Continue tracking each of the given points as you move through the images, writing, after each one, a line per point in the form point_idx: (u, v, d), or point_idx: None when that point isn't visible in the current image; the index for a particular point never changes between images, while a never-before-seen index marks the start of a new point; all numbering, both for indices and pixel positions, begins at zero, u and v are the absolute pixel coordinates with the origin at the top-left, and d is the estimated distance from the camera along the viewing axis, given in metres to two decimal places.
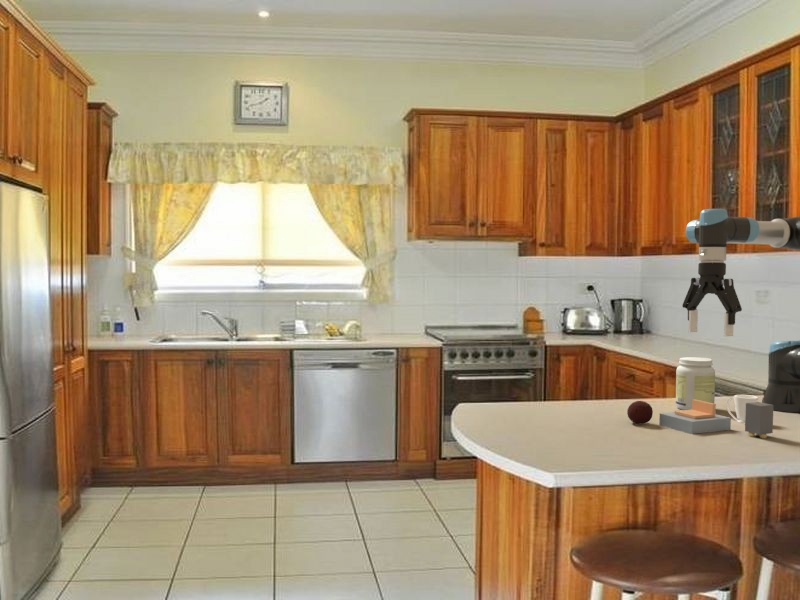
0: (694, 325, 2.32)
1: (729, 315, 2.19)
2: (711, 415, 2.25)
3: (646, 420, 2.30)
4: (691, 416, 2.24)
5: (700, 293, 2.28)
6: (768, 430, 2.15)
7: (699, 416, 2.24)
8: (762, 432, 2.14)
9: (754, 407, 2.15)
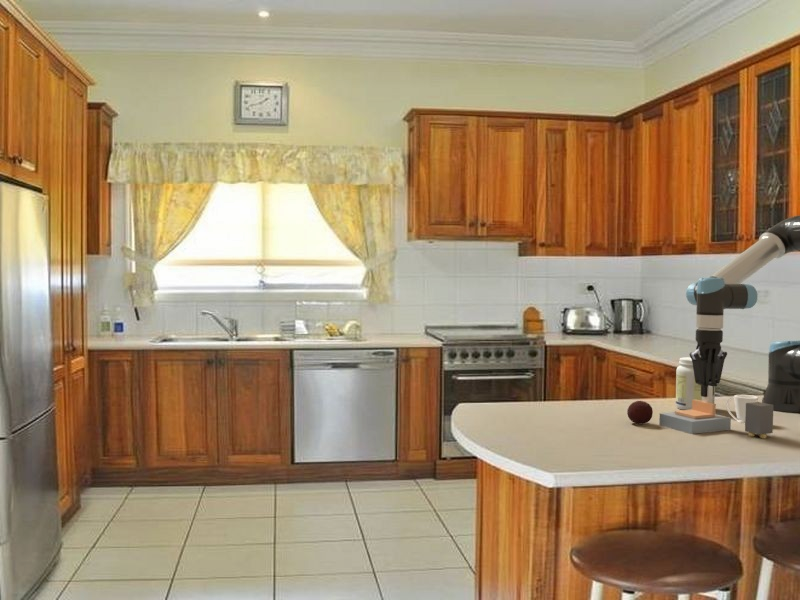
0: None
1: None
2: (711, 415, 2.25)
3: (646, 420, 2.30)
4: (691, 416, 2.24)
5: None
6: (768, 430, 2.15)
7: (699, 416, 2.24)
8: (762, 432, 2.14)
9: (754, 407, 2.15)
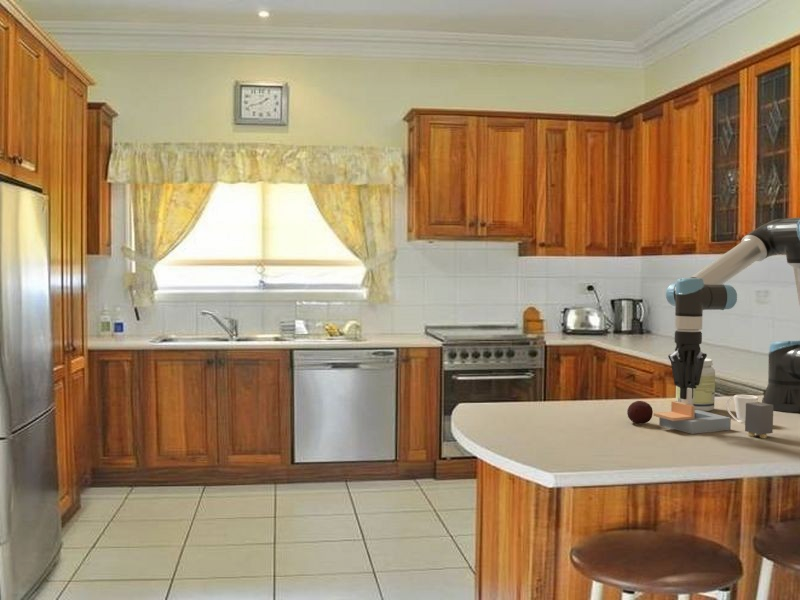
0: None
1: None
2: (690, 417, 2.22)
3: (646, 420, 2.30)
4: (670, 418, 2.21)
5: None
6: (768, 430, 2.15)
7: (678, 418, 2.20)
8: (762, 432, 2.14)
9: (754, 407, 2.15)
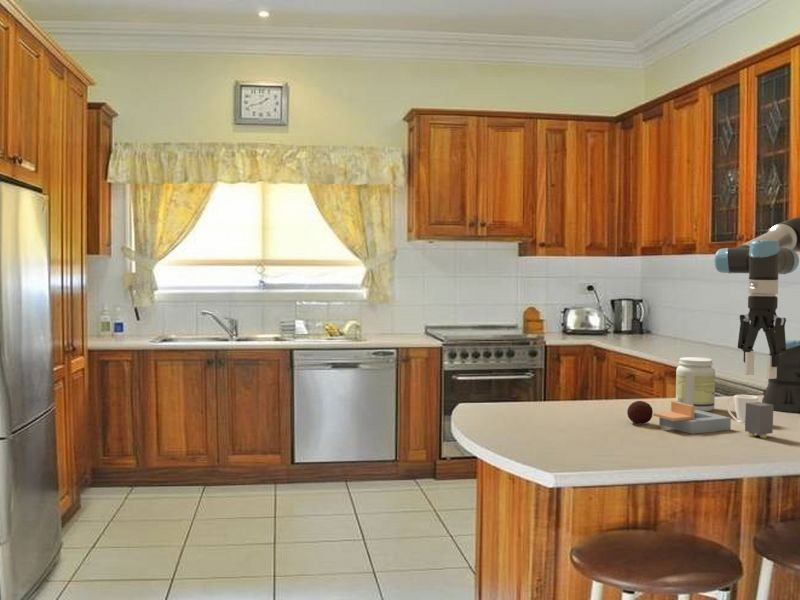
0: (751, 367, 2.19)
1: (772, 357, 2.11)
2: (690, 417, 2.22)
3: (646, 420, 2.30)
4: (669, 418, 2.21)
5: (753, 329, 2.17)
6: (768, 430, 2.15)
7: (677, 418, 2.20)
8: (762, 432, 2.14)
9: (754, 407, 2.15)
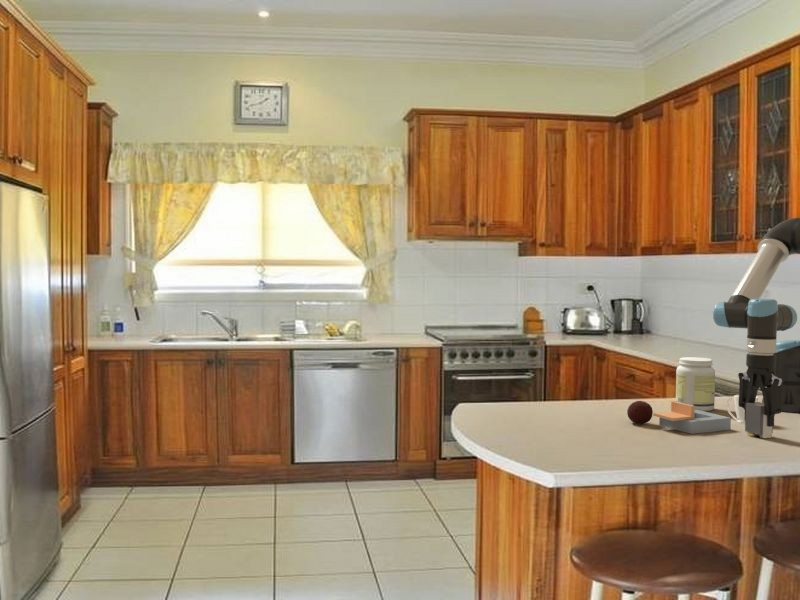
0: None
1: (768, 416, 2.13)
2: (690, 417, 2.22)
3: (646, 420, 2.30)
4: (669, 418, 2.21)
5: (752, 387, 2.17)
6: None
7: (677, 418, 2.20)
8: (762, 432, 2.14)
9: (754, 407, 2.15)
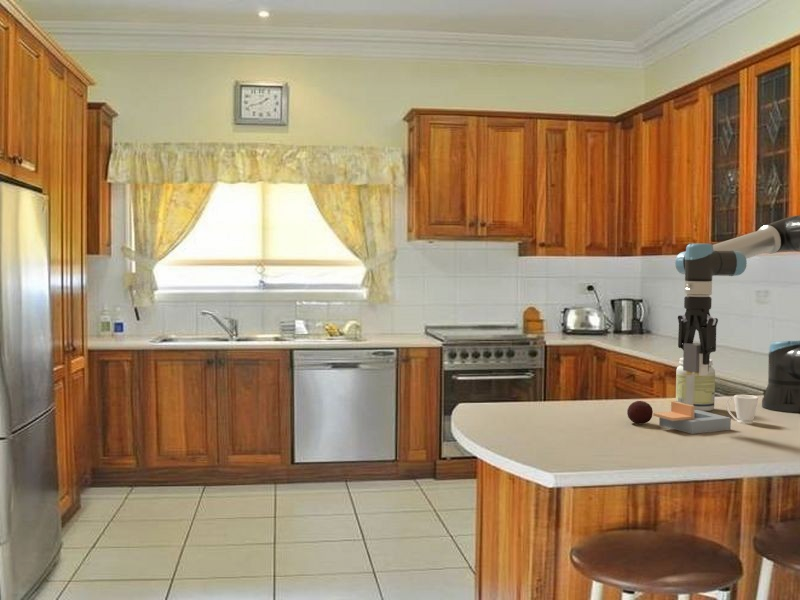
0: None
1: (703, 355, 2.24)
2: (690, 417, 2.22)
3: (646, 420, 2.30)
4: (669, 418, 2.21)
5: (690, 328, 2.28)
6: None
7: (677, 418, 2.20)
8: (698, 370, 2.25)
9: (690, 347, 2.26)
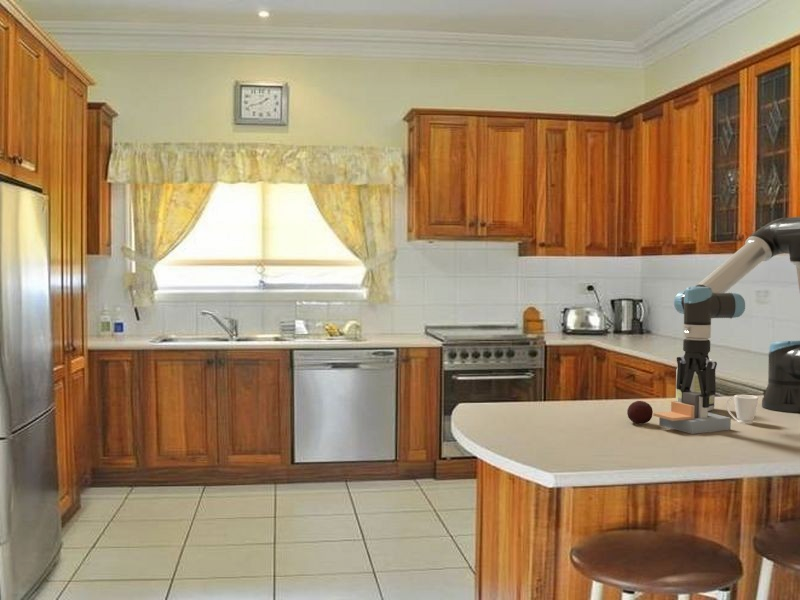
0: None
1: (703, 398, 2.24)
2: (690, 417, 2.22)
3: (646, 420, 2.30)
4: (669, 418, 2.21)
5: (688, 371, 2.29)
6: None
7: (677, 418, 2.20)
8: None
9: (689, 396, 2.27)
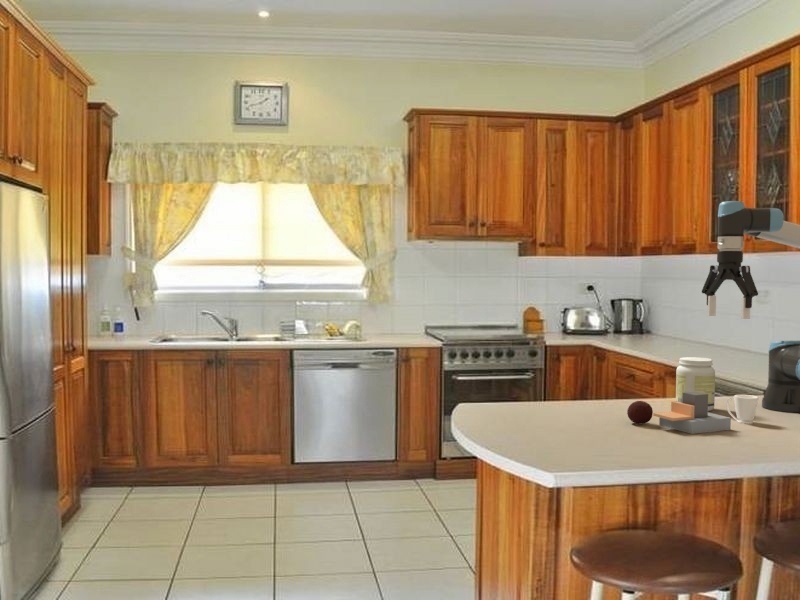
0: (713, 309, 2.50)
1: (746, 299, 2.36)
2: (690, 417, 2.22)
3: (646, 420, 2.30)
4: (669, 418, 2.21)
5: (719, 279, 2.46)
6: None
7: (677, 418, 2.20)
8: None
9: (689, 396, 2.27)
